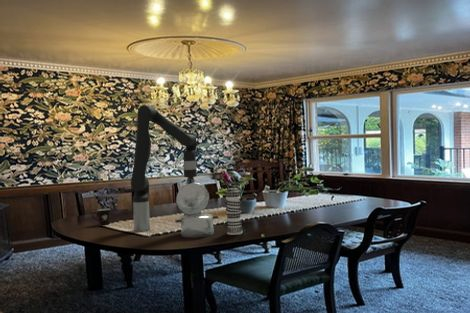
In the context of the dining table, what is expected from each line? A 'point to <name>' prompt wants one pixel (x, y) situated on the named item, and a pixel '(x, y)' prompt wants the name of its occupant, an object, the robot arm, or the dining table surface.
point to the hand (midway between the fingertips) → (191, 198)
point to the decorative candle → (233, 211)
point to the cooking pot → (196, 225)
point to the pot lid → (192, 198)
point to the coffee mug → (103, 216)
